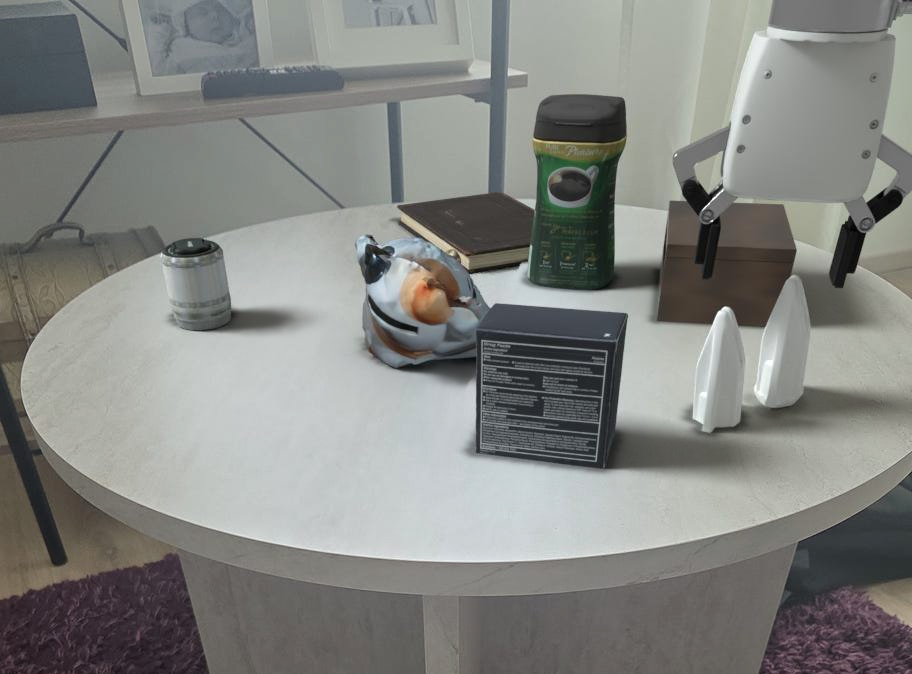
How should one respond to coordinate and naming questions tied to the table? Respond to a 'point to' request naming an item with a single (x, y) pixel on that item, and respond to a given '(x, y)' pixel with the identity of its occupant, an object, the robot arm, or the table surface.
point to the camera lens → (197, 283)
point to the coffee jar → (576, 190)
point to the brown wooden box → (726, 265)
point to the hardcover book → (474, 228)
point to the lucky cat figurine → (417, 302)
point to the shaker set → (777, 361)
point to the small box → (548, 383)
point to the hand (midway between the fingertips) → (769, 278)
